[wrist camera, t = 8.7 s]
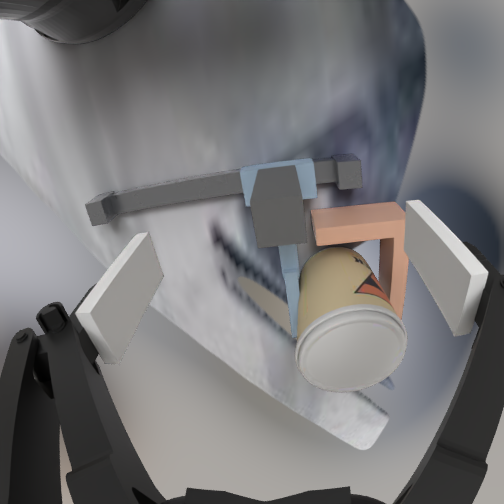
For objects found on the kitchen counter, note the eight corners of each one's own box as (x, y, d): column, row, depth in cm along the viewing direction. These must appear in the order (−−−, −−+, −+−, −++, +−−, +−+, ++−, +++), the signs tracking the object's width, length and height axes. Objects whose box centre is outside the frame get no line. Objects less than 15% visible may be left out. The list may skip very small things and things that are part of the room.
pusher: (243, 163, 28) (224, 205, 18) (309, 155, 27) (328, 192, 17) (270, 315, 36) (266, 394, 26) (322, 310, 35) (334, 389, 25)
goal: (310, 210, 30) (315, 228, 26) (394, 201, 29) (411, 218, 25) (319, 335, 37) (323, 361, 34) (386, 326, 36) (395, 351, 32)
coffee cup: (387, 289, 34) (420, 367, 23) (315, 323, 37) (324, 406, 26) (355, 223, 30) (391, 293, 20) (275, 265, 33) (272, 347, 23)
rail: (99, 194, 31) (85, 204, 28) (352, 153, 27) (360, 160, 24) (105, 215, 32) (92, 226, 29) (354, 178, 28) (362, 187, 26)
